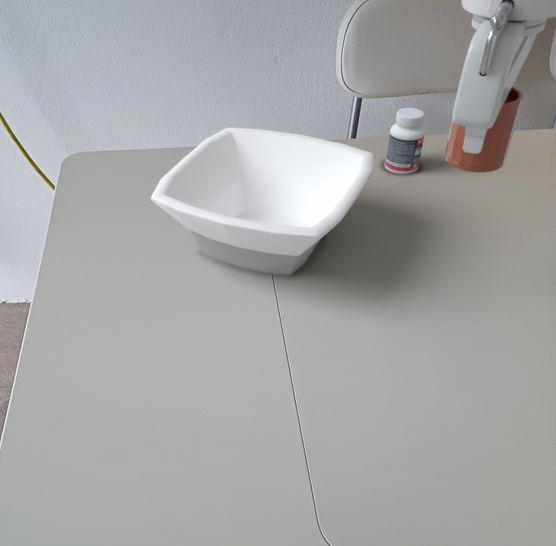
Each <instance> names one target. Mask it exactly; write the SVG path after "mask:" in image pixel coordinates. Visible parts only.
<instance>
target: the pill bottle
mask: <svg viewBox="0 0 556 546" xmlns="http://www.w3.org/2000/svg"><path fill="white" fill-rule="evenodd" d="M424 119H425V112H424V111H423V110H421V109H420V108H419V109H418V108H415V107H404V108H403V107H402V108H400V109H398V110H397V112H396V115H395V123H394V124H392V125H391V127H390V129H389V135H388V141H387V148H386V154H385V160H384V168H385V169H386V170H387V171H389V172H392V173H395V174H401V175H408V174H412V173H414V172H416V171H417V170H418V169H419V165H420V160H421V155H422V150H423V145H424V140H425V134H426V130H425V127H424V126H423V123H424Z"/></svg>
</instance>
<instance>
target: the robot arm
mask: <svg viewBox="0 0 556 546" xmlns="http://www.w3.org/2000/svg"><path fill="white" fill-rule="evenodd" d="M460 5H461V7H462V9H463V10H464V11H466V12H467V13H468V14H471V15H473V16H472V19H471V27H472V28H473V29H474V30H476V31H475V32H474V33H473V36H472V38H471V40H470V42H469V46H468V48H467V49H468V50H467V52H466V56H465V59H464V63H463V67H462V71H461V75H460V79H459V83H458V87H457V91H456V95H455V99H454V105H453V108H452V118H453V123H454V124H456V125H460V126H465V139H464V144H463V150H464V151H465V152H467V153H473V154H478V153H480V152H481V150H482V148H483V146H484V143H485V139H486V135H487V130H488V129H490V128H491V127H492V126H493V125H494V122H495V120H496V118H497V116H498V114H499V112H500V110H501V108H502V106H503V104H504V102H505V100H506V98H507V96H508V94H509V92H510V90H511V88H512V87H514V84H515V82H516V79H517V77H518V76H519V74H520V71H521V69H522V67H523V66H524V63H525V61H526V60H527V57H528V56H529V54H530V52H531V49H532V47H533V45H534V42H535V40H536V37H537V35H538V34H539V33H541V32H542V31H544V30H545V27H546V24H547V20H548V19H551V18H555V17H556V0H461V3H460Z"/></svg>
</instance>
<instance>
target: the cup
mask: <svg viewBox="0 0 556 546" xmlns="http://www.w3.org/2000/svg"><path fill="white" fill-rule="evenodd" d="M523 100H524V93H523V91H522V90H520V89H518V88H517V87H515V86H512V88H511V90H510V92H509V94H508V96H507V98H506V100H505V102H504V104H503V106H502V108H501V110H500V112H499V114H498V116H497V118H496V120H495V122H494V125H493V126H492V127H491V128H490V129H488V130H487V135H486V139H485V143H484V146H483V148H482V150H481V152H480V153H478V154H473V153H467V152H465V151H464V150H463V144H464V139H465V126H460V125H456V124H454V123H453V117H451V122H450V127H449V131H448V136H447V142H446V147H445V153H444V160H445V161H446V163H448V165H450V166H451V167H453V168H455V169H458V170H459V171H460V170H461V171H464V172H470V173H478V174H479V173H490V172H495V171H498V170H499V169H501V168H502V167H503V166H504V165H505V163H506V159H507V157H508V153H509V151H510V147H511V142H512V139H513V135H514V132H515V129H516V125H517V122H518V118H519V114H520V111H521V108H522V103H523Z"/></svg>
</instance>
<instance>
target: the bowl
mask: <svg viewBox="0 0 556 546" xmlns="http://www.w3.org/2000/svg"><path fill="white" fill-rule="evenodd" d="M374 156H375V154H374V153H372V152H370V151H368V150H364V149H361V148H357V147H354V146H351V145H348V144H344V143H341V142H337V141H332V140H328V139H323V138H320V137H319V138H318V137H314V136H311V135H310V136H309V135H305V134H300V133H292V132H285V131H277V130H270V129H269V130H268V129H263V128H246V127H225V128H224V129H222V130H220V131H218V132H217V133H214V134H213V135H211V136H209V137H207V138H205V139H204V140H202V142H200V143H199V144H198V145H197V146H196V147H195V148H194V149H192V150H191V151H190V152H189V153H188V154H187V155H185V156H184V157H183V158H182V159H181V160H180V161H179V162H178V163H177V164H175V165H174V166H173V167H172V168H171V169H170V170H169V171H168V172H167V173H166V174H165V175H163V177H162V178H160V180H159V182H158V184H157V185H156V187H155V189H154V190H153V192H152V194H151V196H150V199H151V202H153V203H154V204H155V205H156V206H157V207H159V208H160V209H162V210H163V211H164V212H166V213H167V214H168V215H169V216H171V217H172V218H173V219H175V220H176V221H177V222H178V223H180V225H182V226H183V227H185V228H186V229H187V230H189V231H190V232H191V234H192V236H193V237H194V239H195V241H196V242H197V243H198V246H200V248H201V250H202V252H203V253H204V254H205V255H207V256H209V257H212V258H214V259H216V260H217V261H220V262H223V263H226V264H230V265H232V266H235V267H239V268H242V269H245V270H250V271H256V272H262V273H266V274H273V275H274V274H275V275H284V276H291V275H292V274H294V273H295V272H296V271H298V270H299V269H301V267H303V266H304V265H305V263H306V262H307V260H308V259H309V257H310V256H312V255H311V254H312V253H313V252H314V250H315V249H316V247H317V246H318V244H319V243H320V241H321V240H322V238H323V237H324V236H326V235H327V234H328V233H330V231H331V230H333V229H334V228H335V227H336V226H337V225H339V224H340V223H341V222H342V220H343V219H344V218H345V216H346V215H347V213H348V212H349V211H350V209H351V208H352V206H353V204H354V203H355V202H356V201H357V199H358V197H359V196H360V194H361V192H362V191H363V189H364V188H365V186H366V185H367V183H368V181H369V179H370V178H371V176H372V175H373V172H374V171H373V170H374Z"/></svg>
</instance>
